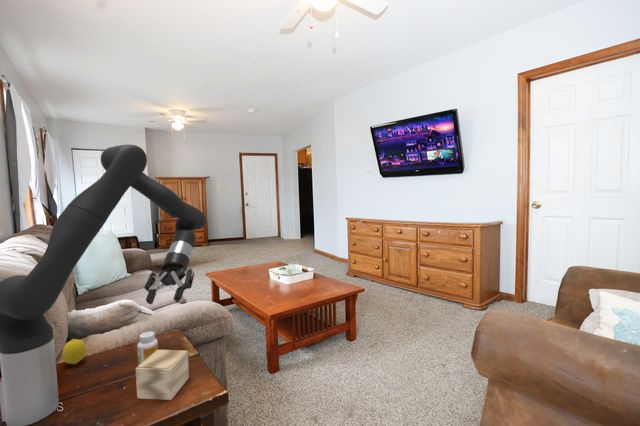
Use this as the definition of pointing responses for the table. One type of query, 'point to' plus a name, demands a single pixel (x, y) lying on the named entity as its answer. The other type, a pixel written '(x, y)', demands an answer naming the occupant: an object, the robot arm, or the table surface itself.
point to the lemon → (73, 351)
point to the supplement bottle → (146, 346)
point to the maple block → (162, 374)
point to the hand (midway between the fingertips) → (162, 301)
